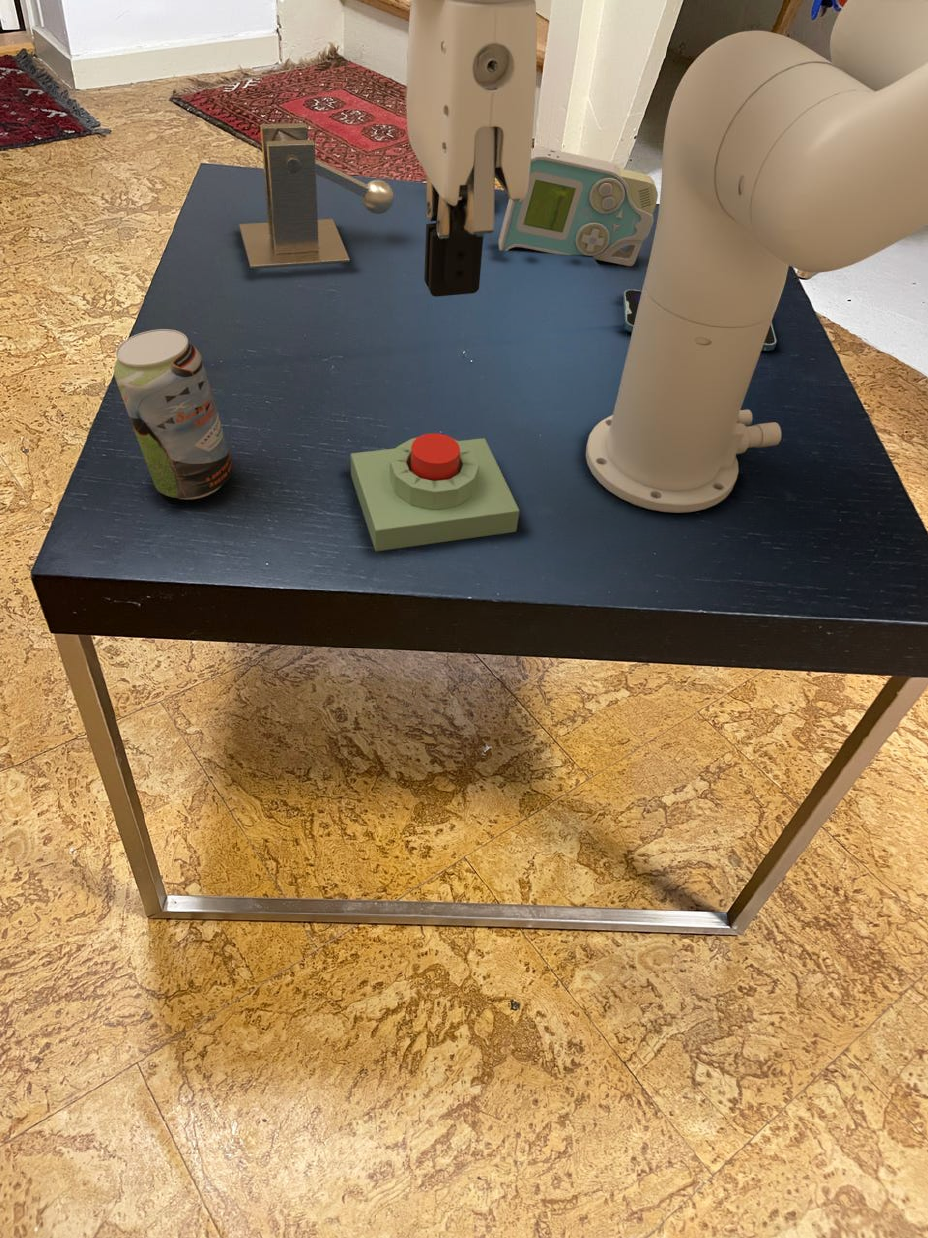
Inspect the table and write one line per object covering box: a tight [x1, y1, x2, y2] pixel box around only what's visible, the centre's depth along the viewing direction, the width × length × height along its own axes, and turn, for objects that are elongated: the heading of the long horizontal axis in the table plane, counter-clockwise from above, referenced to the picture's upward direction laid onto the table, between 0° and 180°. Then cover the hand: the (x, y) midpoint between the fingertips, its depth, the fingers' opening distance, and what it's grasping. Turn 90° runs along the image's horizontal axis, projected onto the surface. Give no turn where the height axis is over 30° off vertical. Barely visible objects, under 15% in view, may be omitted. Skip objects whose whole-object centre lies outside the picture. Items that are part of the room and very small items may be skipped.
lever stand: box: [238, 122, 351, 270], centre depth 94 cm, size 10×9×12 cm
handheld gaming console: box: [498, 146, 659, 267], centre depth 99 cm, size 11×3×15 cm
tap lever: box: [274, 131, 394, 215], centre depth 94 cm, size 13×3×3 cm, turn 106°
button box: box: [350, 436, 520, 552], centre depth 72 cm, size 11×9×4 cm
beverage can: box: [113, 328, 234, 500], centre depth 69 cm, size 6×7×12 cm
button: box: [411, 432, 460, 481], centre depth 71 cm, size 4×4×2 cm
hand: (451, 287), depth 61 cm, fingers closed
